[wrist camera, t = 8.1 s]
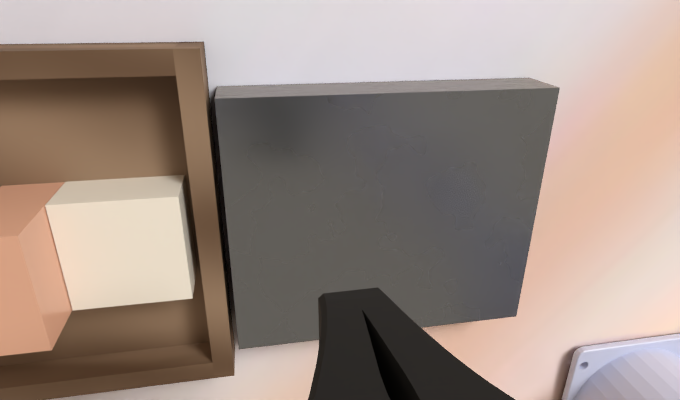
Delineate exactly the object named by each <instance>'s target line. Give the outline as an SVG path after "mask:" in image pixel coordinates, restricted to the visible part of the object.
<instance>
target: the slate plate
mask: <svg viewBox="0 0 680 400" xmlns="http://www.w3.org/2000/svg"><path fill="white" fill-rule="evenodd" d="M558 94H559V87H556V86H553V85H550V84H547V83H544V82H541V81H538V80H535V79H532V78H506V79H469V80H433V81H396V82H360V83H324V84H287V85H251V86H217V89H216V94H215V109H216V119H217V129H218V139H219V150H220V160H221V170H222V181H223V191H224V201H225V211H226V222H227V232H228V242H229V253H230V263H231V273H232V283H233V294H234V304H235V314H236V325H237V335H238V345H239V349H245V348H253V347H262V346H270V345H278V344H287V343H295V342H304V341H312V340H319V316H318V298H319V297H320V296H321V295H322V294H323V293H332V292H341V291H350V290H359V289H368V288H377V287H378V288H379V289H380V290H381V291H383V292H384V293H385V294H386V295H387V296H388V297H389V298H390V299H391V300H392V301H393V302H394V303H395V304H396V305H397V306H398V307H399V308H400V309H401V310H402V311H403V312H404V313H406V314H407V315H408V316H409V317H410V318H411V319H412V320H413V321H414V322H415V323H416V324H417V325H418V326H419V327H430V326H438V325H447V324H455V323H463V322H472V321H480V320H489V319H497V318H505V317H514V316H516V314H517V309H518V304H519V299H520V293H521V288H522V283H523V278H524V272H525V267H526V262H527V257H528V251H529V246H530V241H531V236H532V230H533V225H534V220H535V215H536V209H537V204H538V199H539V193H540V188H541V183H542V178H543V172H544V167H545V162H546V157H547V151H548V146H549V141H550V136H551V130H552V125H553V120H554V115H555V109H556V104H557V99H558Z"/></svg>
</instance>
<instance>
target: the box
mask: <svg viewBox="0 0 680 400" xmlns="http://www.w3.org/2000/svg"><path fill="white" fill-rule="evenodd" d="M173 175H185V182H186V190H187V197H188V205H189V213H190V220H191V228H192V236H193V243H194V251H195V258H196V266H197V272H196V279H195V285H194V292H193V299H183V300H173V301H163V302H153V303H143V304H133V305H123V306H114V307H104V308H94V309H84V310H74V311H73V310H72V312H71V314H70V316H69V318H68V320H67V322H66V324H65V326H64V327H63V329H62V331H61V333H60V335H59V337H58V339H57V341H56V343H55V345H54V347H53V349H52V350H50V351H41V352H32V353H23V354H14V355H5V356H0V400H46V399H54V398H61V397H69V396H77V395H85V394H93V393H100V392H108V391H116V390H124V389H132V388H140V387H147V386H155V385H163V384H171V383H179V382H187V381H194V380H202V379H210V378H218V377H226V376H234V359H235V344H234V335H233V325H232V315H231V305H230V295H229V285H228V275H227V266H226V256H225V246H224V236H223V226H222V216H221V206H220V197H219V187H218V177H217V167H216V157H215V147H214V137H213V127H212V118H211V108H210V98H209V88H208V78H207V68H206V58H205V49H204V42H156V43H73V44H0V187H1V186H6V185H24V184H41V183H58V182H69V181H87V180H104V179H121V178H139V177H156V176H173Z"/></svg>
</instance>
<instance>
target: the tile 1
mask: <svg viewBox="0 0 680 400" xmlns="http://www.w3.org/2000/svg"><path fill="white" fill-rule="evenodd" d="M64 183H65V182H58V183H41V184H24V185H6V186H1V187H0V356H5V355H14V354H23V353H32V352H41V351H50V350H52V349H53V347H54V345H55V343H56V341H57V339H58V337H59V335H60V333H61V331H62V329H63V327H64V326H65V324H66V322H67V320H68V318H69V316H70V314H71V312H72V306H71V302H70V298H69V295H68V291H67V287H66V283H65V279H64V276H63V272H62V268H61V264H60V261H59V257H58V253H57V249H56V245H55V242H54V238H53V234H52V230H51V226H50V223H49V219H48V215H47V211H46V207H45V205H46V204H47V202H48V201H49V200H50V199H51V198H52V197H53V196H54V194H55V193H56V192H57V191H58V190H59V189H60V187H61V186H62V185H63V184H64Z"/></svg>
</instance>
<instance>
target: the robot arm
mask: <svg viewBox="0 0 680 400" xmlns="http://www.w3.org/2000/svg"><path fill="white" fill-rule="evenodd" d="M318 316H319V351H318V358H317V364H316V369H315V373H314V377H313V382H312V386H311V391H310V395H309V398H308V400H515V399H513V398H512V397H510V396H509V395H507V394H506V393H504V392H503V391H501V390H500V389H498V388H497V387H495V386H494V385H492V384H491V383H489V382H488V381H486V380H485V379H484V378H482V377H481V376H479V375H478V374H477V373H475V372H474V371H473V370H471V369H470V368H469V367H467V366H466V365H465V364H463V363H462V362H461V361H460V360H458V359H457V358H456V357H454V356H453V355H452V354H451V353H449V352H448V351H447V350H446V349H445V348H443V347H442V346H441V345H440V344H439V343H438V342H437V341H435V340H434V339H433V338H432V337H431V336H430V335H428V334H427V333H426V332H425V331H424V330H423V329H422V328H421V327H419V326H418V325H417V324H416V323H415V322H414V321H413V320H412V319H411V318H410V317H409V316H408V315H407V314H406V313H404V312H403V311H402V310H401V309H400V308H399V307H398V306H397V305H396V304H395V303H394V302H393V301H392V300H391V299H390V298H389V297H388V296H387V295H386V294H385V293H384V292H383V291H381V290H380V289H379V288H378V287H377V288H368V289H359V290H350V291H341V292H332V293H323V294H322V295H321V296H320V297H319V298H318ZM562 400H680V334H672V335H665V336H657V337H650V338H642V339H635V340H627V341H620V342H612V343H605V344H598V345H590V346H583V347H580V348H578V349H577V350H576V351H575V352H574V354H573V358H572V361H571V365H570V369H569V373H568V377H567V381H566V385H565V388H564V392H563V396H562Z"/></svg>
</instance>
